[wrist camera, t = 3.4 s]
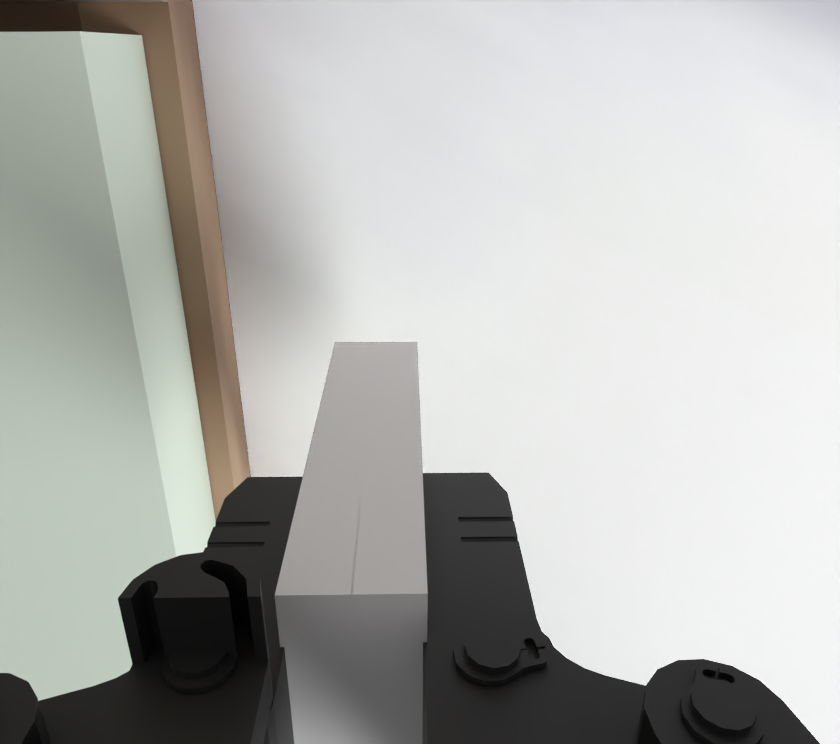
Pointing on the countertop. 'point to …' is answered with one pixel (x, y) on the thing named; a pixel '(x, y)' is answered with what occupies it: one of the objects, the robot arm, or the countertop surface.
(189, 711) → the robot arm
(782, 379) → the countertop surface
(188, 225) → the wooden sliding lid box
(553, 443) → the countertop surface
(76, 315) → the slide cover
